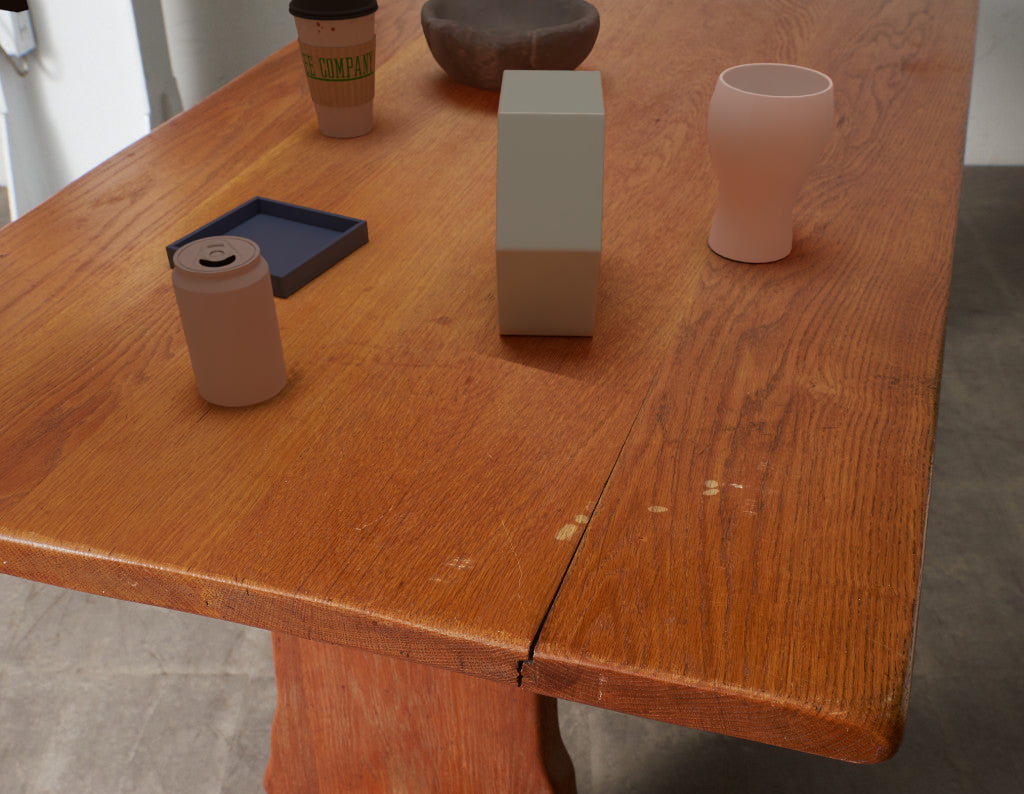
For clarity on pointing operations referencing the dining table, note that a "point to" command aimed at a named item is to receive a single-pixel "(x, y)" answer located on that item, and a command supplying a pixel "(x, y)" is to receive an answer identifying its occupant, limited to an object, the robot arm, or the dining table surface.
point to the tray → (286, 239)
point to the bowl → (508, 37)
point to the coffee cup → (339, 62)
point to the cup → (764, 153)
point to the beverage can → (229, 320)
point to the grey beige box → (549, 201)
